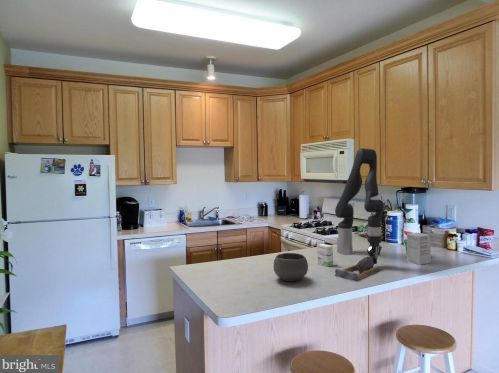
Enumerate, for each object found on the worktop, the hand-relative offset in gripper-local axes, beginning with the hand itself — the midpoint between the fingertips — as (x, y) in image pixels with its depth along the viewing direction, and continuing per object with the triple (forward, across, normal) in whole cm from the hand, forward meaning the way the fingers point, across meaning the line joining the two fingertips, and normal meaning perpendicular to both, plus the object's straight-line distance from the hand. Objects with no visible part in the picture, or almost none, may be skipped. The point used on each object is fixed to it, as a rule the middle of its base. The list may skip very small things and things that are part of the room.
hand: (374, 263), depth 197 cm
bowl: (+2, +51, -20) cm, 54 cm away
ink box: (+2, +16, -23) cm, 28 cm away
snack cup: (+2, -37, +6) cm, 38 cm away
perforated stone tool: (+2, +11, 0) cm, 11 cm away
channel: (+1, +17, 0) cm, 17 cm away
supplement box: (+2, -26, +14) cm, 30 cm away
